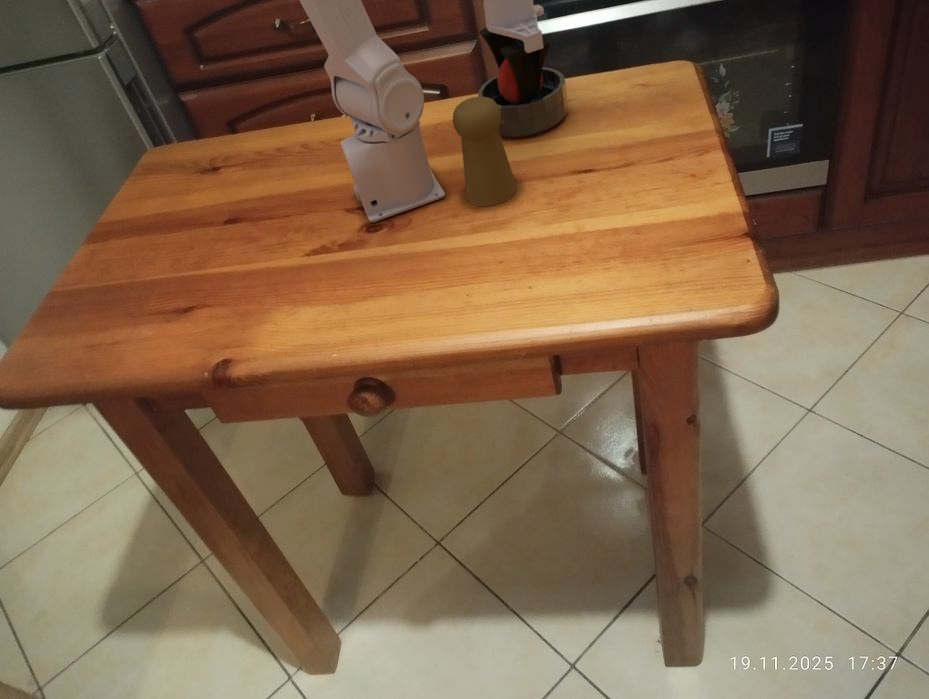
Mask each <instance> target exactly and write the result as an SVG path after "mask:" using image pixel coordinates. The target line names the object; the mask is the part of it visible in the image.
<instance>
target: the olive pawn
mask: <svg viewBox="0 0 929 699" xmlns="http://www.w3.org/2000/svg"><path fill="white" fill-rule="evenodd" d="M500 122H501V113H500V109H499V107H498V105H497V104H496V102H495V101H494V100H493V99H491V98H488V97H478V96H473V97H470V98H467V99H465V100H462V101H461V102H460V103H458V104H457V105H456V106H455V108H454V110H453V113H452V124H453V128H454V130H455V132H456V133H457V135H458V136H460V138H461V150H462V161H463V174H464V187H465V189H464V190H465V198H466V200H467V202H468V203H470V204H471V205H473V206H477V207H485V208H486V207H494V206H498V205H501V204H504V203H505V202H507V201H509V200H510V199H511V198H513V197H514V196H515V194H516V193H517V190H518V189H517V186H518V185H517V183H516V180H515V177H514V174H513V171H512V170H513V169H512V167H511V164H510V161H509V158H508V154H507V151H506V148H505V146H504V142H503V139H502V136H500V133H499V130H498V128H499V126H500Z"/></svg>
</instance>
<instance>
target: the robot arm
mask: <svg viewBox="0 0 929 699" xmlns="http://www.w3.org/2000/svg"><path fill="white" fill-rule="evenodd" d="M299 2H300V5H301V6H302V8H303V10H304V11H305V13H306V15H307V17H308V19H309V21H310V23H311V25H312V27H313V28H314V31H315V32H316V35H317V36H318V37H319V39H320V41H321V43H322V45H323V47H324V49H325V50H326V53H327V54H328V57H327V58H326V61H325V63H324V66H323V67H324V70H325V72H326V73H327V76H328V78H329V81H330V85H331V96H332V100H333V102H334V105H335V107H336V108H337V109H338V110H339V112H341V114H342V115H345V116H347V117H349V118H350V121H351V125H352V128H353V131H354V133H353V134H351V135H349V136H348V137H346V138H344V139H342V140H340V141H339V144H340V148H341V150H342V153H343V156H344V159H345V161H346V165H347V167H348V170H349V173H350V175H351V178H352V181H353V184H354V185H353V186H352V188H353V192H354V194H355V197H356V199H357V201H358V202H360V203H361V205H362V207H363V209H364V212H365V213H366V216H367V219H368V221H369V223H376V222H379V221H381V220H384V219H387V218H390V217H392V216H393V217H394V216H396V215H398V214H399V215H400V214H402V213H404V212H407V211H411V210H412V209H415V208H418V207H421V206H424V205H427V204H429V203H432V202H434V201H438V200H441V199H443V198H445V197H446V193H445V190H444V189H443V188H442V186H441V184H440V183H439V182H438V179H437V178H436V177H435V175H434V173H433V171H432V170H431V166H430V162H429V158H428V155H427V150H426V146H425V143H424V139H423V135H422V131H421V127H420V125H421V122H420V120H421V117H422V116H423V112H424V107H425V94H424V89H423V87H422V85H421V83H420V82H419V80H418V78H416V77H415V76H414V75H412V74H411V73H409V72H408V71H407V69H406V68H405V67H404V65H403V63H402V61H401V59H400V57H399V55H398V54H396V52H394V50H393V49H392V48H391V47H390V46H388V45H387V44H386V43H385V42H384V41H383V40H382V39H381V38H380V36H379V35H378V34H377V32H376V30H375V27H374V25H373V23H372V22H371V19H370V17H369V15H368V13H367V10H366V8H365V6H364V4H363V2H362V0H299ZM483 10H484V16H485V26H486V27H484V28H482V29H481V30H479V35H480V36H481V38H483V40H484V41H485V43H486V45H487V46H488V48H489V50H490V52H491V54H492V56H493V58H494V61H495V63H496V66H497V68H498V70H499V69H500V66H501V65H502V63H503V61H504V60H505V59H506V60H507V61H508V63H509V65H510V67H511V69H512V72H513V75H514V78H515V81H516V85H517V88H518V92H519V94H520V97H521V99H522V101H524V102H526V101H529V100H532V99H535V98H538V97H539V91H540V82H541V74H542V68H543V67H544V64H545V60H546V58H547V55H548V52H549V50H550V48H551V41H550V39H549V38H547V37H545V36H543V32H542V30H541V29H540V28H539V24H538V17H540V16H543V15H544V14H545V10H544V7H543V6H541V5H540V4H534V0H483Z"/></svg>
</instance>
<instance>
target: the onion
mask: <svg viewBox="0 0 929 699" xmlns="http://www.w3.org/2000/svg"><path fill="white" fill-rule="evenodd" d="M497 75H498V76H497ZM497 75H496V76H497V81H498V89H499V91H500V94H501V95H502V96H503V97H504V98H505V99H506V100H507V101H508V102H510V103H512V104H514V105H520V104H525V103H530V102H532V101H533V100H534V99H532V100H529V101H526V102H524V101H522V99H521V97H520V94H519V92H518V88H517V85H516V81H515V78H514V75H513V72H512V69H511V67H510V65H509V63H508V61H507V60H506V59H505V60H504V61H503V63H502V65H501V66H500V69H498V71H497ZM542 84H543V76H542V74H541V82H540V90H541V88H542ZM539 93H540V91H539Z"/></svg>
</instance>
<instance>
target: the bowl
mask: <svg viewBox="0 0 929 699" xmlns="http://www.w3.org/2000/svg"><path fill="white" fill-rule="evenodd" d="M497 76H498V74H497V75H496V76H493V77H491V78H490V79H488V80H487V81H486V82H485V83H483V84H481V87H480V88H479V89H478V92H477V97H488V98H491V99H493V100H494V101H495V102H496V104H497V105H498V107H499V109H500V113H501V122H500V126H499V128H498V130H499V133H500V136H501V137H506V138H527V137H530V136H534V135H538V134H541V133H544V132H546V131H548V130H550V129H551V128H553V127H554V126H556V125H557V124H558V123H560V122H561V121H562V120H563V119H564V118H565V116H566V114H567V112H568V110H569V107H568V96H567V87H566V79H565V74H563V73H562V72H560V71H559V70H558V69H554V68H552V67H545V66H543V68H542V76H543V84H542V88H541V90H540V93H539V97H538V98H535V99H534V100H533V101H532V102H530V103H525V104H520V105H514V104H512V103H510V102H508V101H507V100H506V99H505V98H504V97H503V96H502V95H501V94H500V91H499V89H498V81H497Z"/></svg>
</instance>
